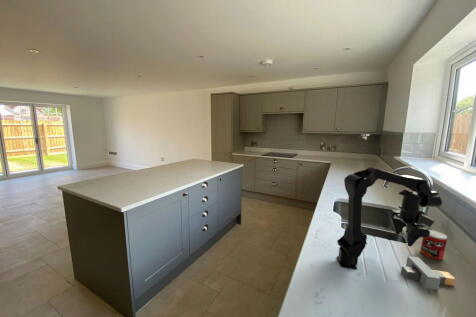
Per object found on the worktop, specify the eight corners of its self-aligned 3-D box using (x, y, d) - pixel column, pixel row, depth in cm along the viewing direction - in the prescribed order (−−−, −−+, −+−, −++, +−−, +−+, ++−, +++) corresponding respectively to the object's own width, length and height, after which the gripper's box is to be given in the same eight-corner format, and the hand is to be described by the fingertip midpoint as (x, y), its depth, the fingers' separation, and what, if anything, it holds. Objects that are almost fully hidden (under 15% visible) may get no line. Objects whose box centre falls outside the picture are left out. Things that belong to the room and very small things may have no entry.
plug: (406, 278, 79) (407, 271, 79) (400, 271, 83) (402, 265, 82) (453, 285, 76) (455, 278, 76) (446, 278, 80) (447, 272, 79)
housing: (425, 288, 75) (428, 276, 74) (405, 266, 86) (407, 256, 85) (437, 290, 74) (440, 278, 73) (416, 267, 85) (418, 257, 85)
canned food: (416, 251, 97) (420, 231, 95) (426, 248, 99) (430, 228, 97) (436, 262, 90) (441, 239, 88) (446, 258, 92) (451, 236, 90)
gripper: (451, 219, 73) (441, 257, 75) (418, 200, 91) (411, 232, 93) (415, 214, 75) (407, 251, 78) (390, 197, 93) (384, 228, 96)
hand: (403, 239), depth 86 cm, fingers open, 9 cm apart
